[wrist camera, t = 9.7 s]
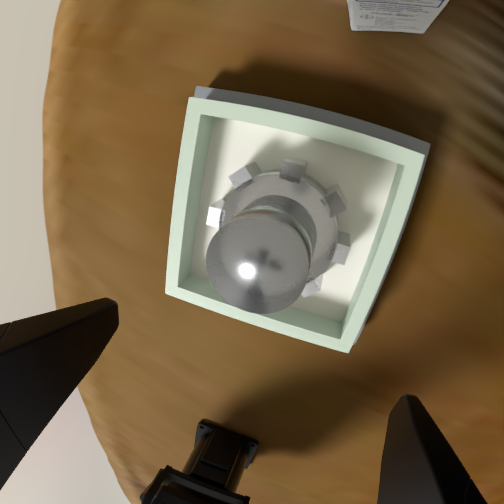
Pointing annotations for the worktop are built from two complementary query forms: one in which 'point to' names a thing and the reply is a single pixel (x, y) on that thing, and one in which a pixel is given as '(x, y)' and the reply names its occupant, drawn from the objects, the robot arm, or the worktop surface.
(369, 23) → the medicine box
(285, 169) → the gear
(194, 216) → the square tray
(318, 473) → the worktop surface
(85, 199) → the worktop surface
